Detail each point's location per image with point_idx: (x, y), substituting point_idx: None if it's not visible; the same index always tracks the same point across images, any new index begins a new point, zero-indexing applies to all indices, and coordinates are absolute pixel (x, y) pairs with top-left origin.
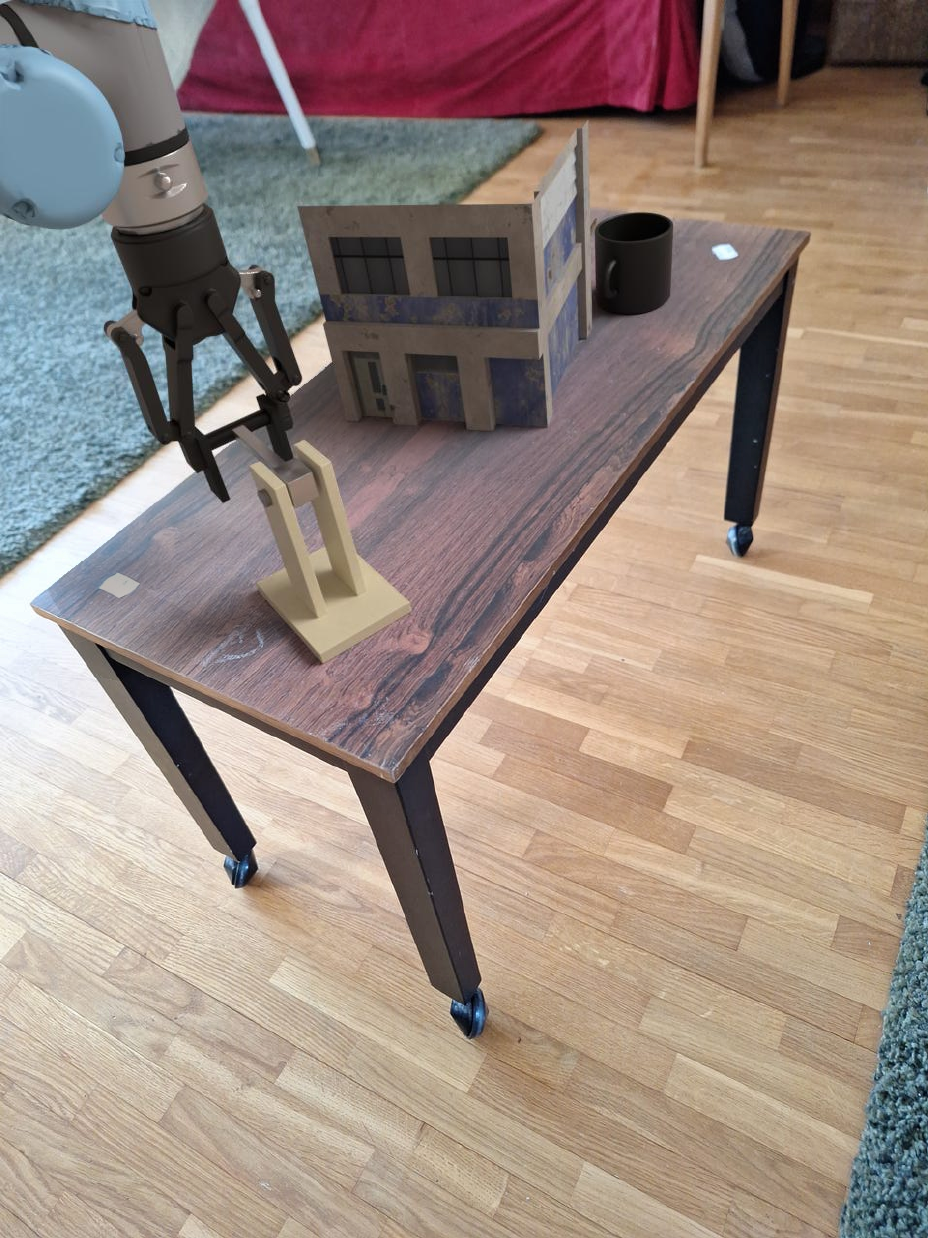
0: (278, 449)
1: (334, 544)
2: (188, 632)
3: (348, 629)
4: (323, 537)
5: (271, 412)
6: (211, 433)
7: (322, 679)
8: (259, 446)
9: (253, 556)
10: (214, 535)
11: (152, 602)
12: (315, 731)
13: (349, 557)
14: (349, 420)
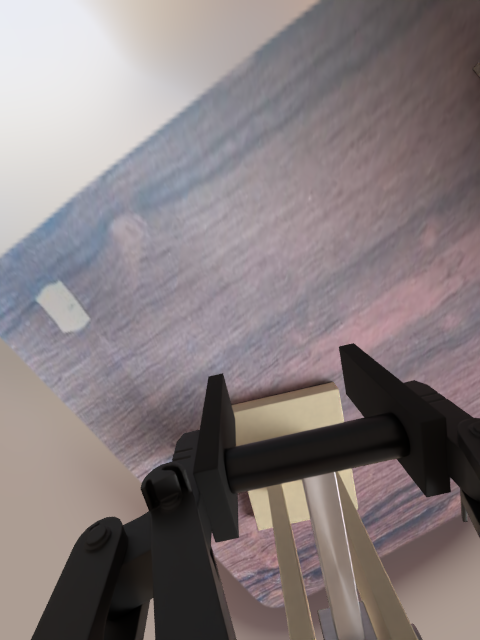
0: (356, 389)
1: None
2: (142, 426)
3: (293, 515)
4: None
5: (418, 483)
6: (253, 485)
7: (251, 531)
8: (338, 569)
9: (234, 342)
10: (195, 272)
11: (105, 361)
12: (230, 572)
13: None
14: (476, 72)
